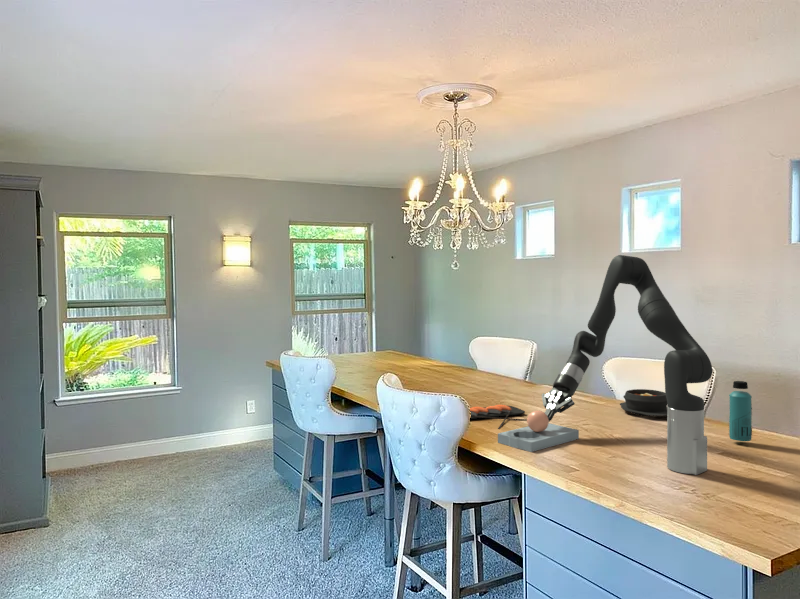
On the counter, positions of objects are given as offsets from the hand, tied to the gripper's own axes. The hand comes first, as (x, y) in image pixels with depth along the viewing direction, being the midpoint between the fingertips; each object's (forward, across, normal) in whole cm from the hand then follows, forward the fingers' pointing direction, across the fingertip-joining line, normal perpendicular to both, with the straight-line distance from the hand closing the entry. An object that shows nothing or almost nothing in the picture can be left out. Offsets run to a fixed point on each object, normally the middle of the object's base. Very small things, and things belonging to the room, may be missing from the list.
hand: (546, 419), depth 197 cm
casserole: (-38, 0, +48) cm, 61 cm away
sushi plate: (-1, -31, +11) cm, 33 cm away
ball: (+3, 0, -3) cm, 4 cm away
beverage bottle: (-26, +43, +35) cm, 61 cm away
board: (+7, 0, +2) cm, 7 cm away
